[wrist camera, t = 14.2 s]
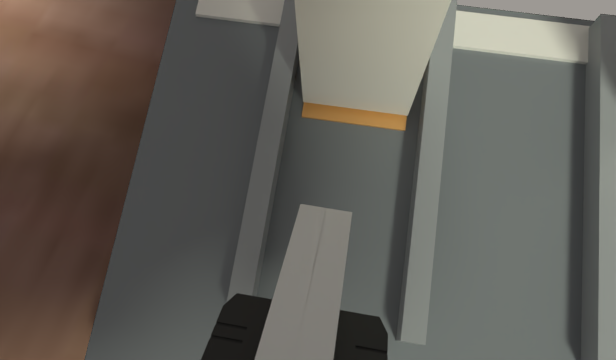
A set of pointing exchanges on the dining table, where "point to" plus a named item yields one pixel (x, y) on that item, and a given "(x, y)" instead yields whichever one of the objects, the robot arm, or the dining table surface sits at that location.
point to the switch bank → (378, 188)
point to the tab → (366, 51)
